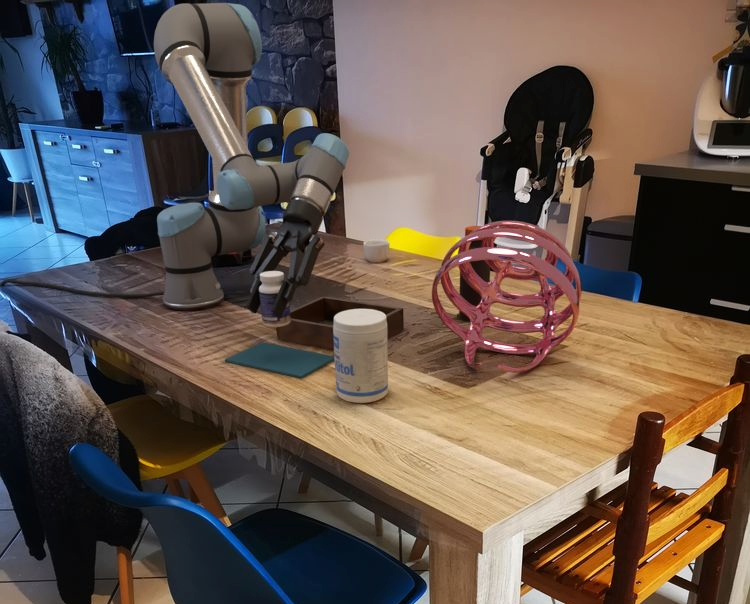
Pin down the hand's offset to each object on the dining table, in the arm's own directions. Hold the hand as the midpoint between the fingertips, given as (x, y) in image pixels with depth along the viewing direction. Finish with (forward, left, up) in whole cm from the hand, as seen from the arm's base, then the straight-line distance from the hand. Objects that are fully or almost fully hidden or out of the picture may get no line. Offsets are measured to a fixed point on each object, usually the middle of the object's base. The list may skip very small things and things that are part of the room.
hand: (263, 312), depth 146 cm
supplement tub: (+25, -3, -11) cm, 28 cm away
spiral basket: (+41, +25, -11) cm, 49 cm away
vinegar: (+23, +47, -11) cm, 53 cm away
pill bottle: (0, +4, -4) cm, 5 cm away
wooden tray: (+2, +23, -11) cm, 25 cm away
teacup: (-28, +84, -11) cm, 89 cm away
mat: (0, +4, -11) cm, 12 cm away
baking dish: (-69, +64, -11) cm, 94 cm away
